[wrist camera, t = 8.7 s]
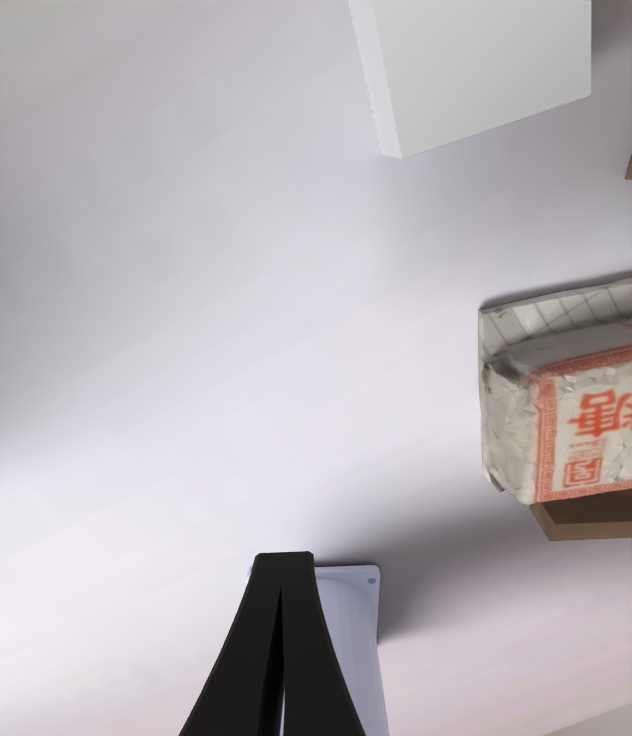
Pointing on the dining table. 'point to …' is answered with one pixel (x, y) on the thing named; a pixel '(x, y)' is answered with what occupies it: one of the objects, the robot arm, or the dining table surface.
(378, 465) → the dining table surface
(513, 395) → the packaged product
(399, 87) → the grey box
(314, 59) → the dining table surface
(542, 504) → the open wooden frame
